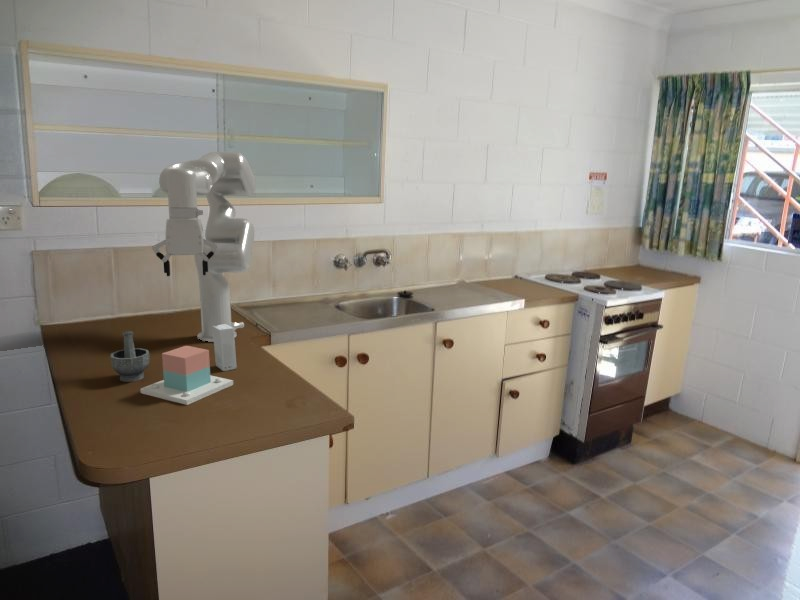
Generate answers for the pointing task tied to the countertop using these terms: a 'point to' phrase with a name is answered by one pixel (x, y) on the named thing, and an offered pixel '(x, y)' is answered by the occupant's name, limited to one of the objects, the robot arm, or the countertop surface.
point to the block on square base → (186, 377)
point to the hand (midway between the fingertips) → (186, 275)
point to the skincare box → (224, 347)
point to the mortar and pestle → (130, 360)
